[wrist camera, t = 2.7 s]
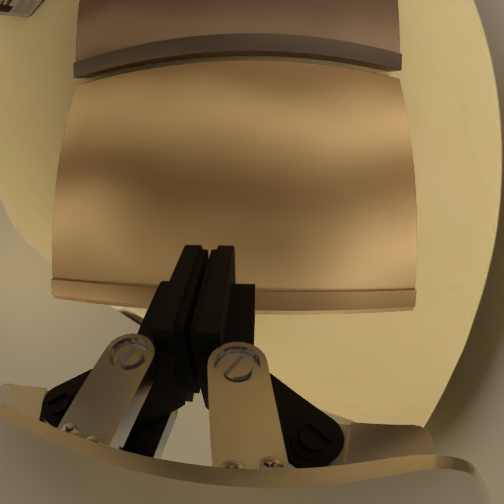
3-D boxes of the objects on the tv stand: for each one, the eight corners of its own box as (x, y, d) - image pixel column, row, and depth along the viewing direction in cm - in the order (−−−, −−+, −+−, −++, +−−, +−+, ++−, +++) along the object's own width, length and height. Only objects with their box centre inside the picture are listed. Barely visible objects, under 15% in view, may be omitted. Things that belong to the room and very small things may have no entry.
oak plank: (87, 96, 13) (75, 84, 12) (388, 90, 13) (400, 77, 11) (69, 293, 14) (52, 298, 12) (399, 304, 13) (414, 310, 12)
